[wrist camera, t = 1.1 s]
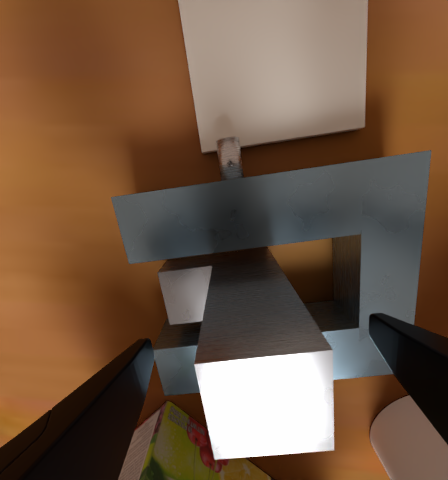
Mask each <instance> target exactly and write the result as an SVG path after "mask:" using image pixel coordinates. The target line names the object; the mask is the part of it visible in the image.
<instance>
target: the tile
mask: <svg viewBox="0 0 448 480" xmlns="http://www.w3.org/2000/svg"><path fill="white" fill-rule="evenodd" d="M178 3H179V9H180V16H181V22H182V29H183V35H184V41H185V48H186V54H187V61H188V67H189V73H190V80H191V86H192V93H193V99H194V105H195V112H196V118H197V125H198V131H199V137H200V144H201V150H202V153H203V154H205V153H211V152H217V146H216V141H217V140H219V139H222V138H226V137H239V141H240V148H244V147H250V146H257V145H263V144H270V143H276V142H283V141H289V140H296V139H302V138H309V137H315V136H322V135H328V134H335V133H341V132H348V131H354V130H359V129H362V128H364V127H365V100H366V59H367V19H368V0H178Z"/></svg>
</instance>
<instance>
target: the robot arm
mask: <svg viewBox="0 0 448 480" xmlns="http://www.w3.org/2000/svg"><path fill="white" fill-rule="evenodd" d="M369 335H370V338H371V339H372V341H373V342H374V344H375V346H376V347H377V349H378V350H379V352H380V353H381V355H382V357H383V358H384V360H385V361H386V363H387V364H388V366H389V368H390V369H391V371H392V372H393V374H394V375H395V377H396V378H397V379H398V381H399V382H400V383H401V385H402V386H403V387H404V389H405V390H406V391H407V393H408V394H409V395H410V396H411V398H412V399H413V400H414V402H415V403H416V404H417V406H418V407H419V408H420V410H421V411H422V412H423V413H424V415H425V416H426V417H427V419H428V420H429V421H430V423H431V424H432V425H433V427H434V428H435V429H436V430H437V432H438V433H439V434H440V436H441V437H442V438H443V440H444V441H445V442H446V444H447V445H448V338H446V337H443V336H441V335H438V334H436V333H433V332H430V331H428V330H425V329H423V328H420V327H417V326H415V325H412V324H410V323H407V322H405V321H402V320H399V319H397V318H394V317H392V316H389V315H386V314H384V313H372V314H370V316H369ZM153 363H154V351H153V347H152V344H151V341H150V339H149V338H145V339H139V340H138V341H136V342H135V343H134V344H133V345H131V346H130V347H129V348H128V349H126V350H125V351H124V352H122V353H121V354H120V355H119V356H117V357H116V358H115V359H114V360H112V361H111V362H110V363H109V364H107V365H106V366H105V367H104V368H102V369H101V370H100V371H98V372H97V373H96V374H95V375H93V376H92V377H91V378H90V379H88V380H87V381H86V382H85V383H83V384H82V385H81V386H79V387H78V388H77V389H76V390H74V391H73V392H72V393H71V394H69V395H68V396H67V397H66V398H64V399H63V400H62V401H60V402H59V403H58V404H57V405H55V406H54V407H53V408H52V410H49V411H48V412H47V413H45V414H44V415H43V416H41V417H40V418H39V419H38V420H36V421H35V422H34V423H33V424H31V425H30V426H29V427H27V428H26V429H25V430H23V431H22V432H21V433H20V434H18V435H17V436H16V437H14V438H13V439H12V440H10V441H9V442H7V443H6V444H5V445H3V446H2V447H1V448H0V480H118V479H119V476H120V473H121V470H122V467H123V464H124V461H125V458H126V455H127V452H128V449H129V446H130V443H131V440H132V437H133V434H134V431H135V428H136V425H137V422H138V419H139V416H140V413H141V410H142V407H143V404H144V401H145V397H146V393H147V389H148V385H149V380H150V376H151V372H152V368H153Z"/></svg>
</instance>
